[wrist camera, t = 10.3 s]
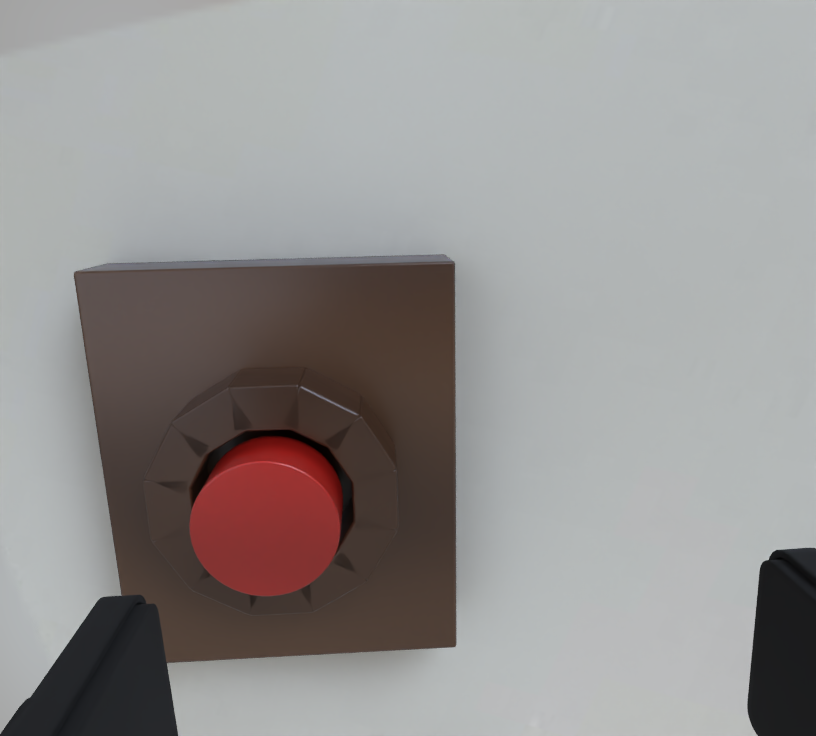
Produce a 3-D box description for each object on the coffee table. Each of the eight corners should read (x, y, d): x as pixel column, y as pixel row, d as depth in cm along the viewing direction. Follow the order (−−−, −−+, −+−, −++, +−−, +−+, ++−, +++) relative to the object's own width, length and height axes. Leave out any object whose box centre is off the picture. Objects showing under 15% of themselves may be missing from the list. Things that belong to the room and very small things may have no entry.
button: (199, 437, 17) (181, 464, 15) (339, 432, 17) (336, 458, 15) (213, 562, 18) (196, 600, 16) (346, 556, 18) (343, 593, 16)
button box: (105, 263, 19) (38, 280, 15) (446, 254, 20) (464, 268, 16) (154, 621, 22) (108, 710, 18) (448, 605, 23) (464, 689, 19)
